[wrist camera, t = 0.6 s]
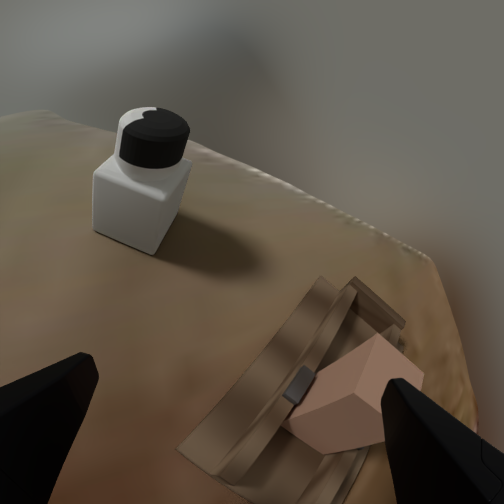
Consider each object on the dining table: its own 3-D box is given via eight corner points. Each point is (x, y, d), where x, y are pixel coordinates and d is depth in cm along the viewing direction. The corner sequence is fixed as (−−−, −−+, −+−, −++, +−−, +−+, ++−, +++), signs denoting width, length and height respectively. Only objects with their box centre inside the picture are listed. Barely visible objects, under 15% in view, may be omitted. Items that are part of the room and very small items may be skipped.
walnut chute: (316, 534, 14) (346, 540, 11) (174, 449, 16) (184, 447, 13) (399, 349, 31) (421, 334, 28) (317, 279, 33) (335, 258, 31)
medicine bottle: (178, 213, 32) (209, 117, 23) (153, 257, 26) (180, 147, 18) (123, 191, 30) (140, 94, 22) (91, 230, 25) (96, 119, 17)
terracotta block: (323, 454, 18) (408, 434, 12) (277, 423, 19) (353, 392, 13) (346, 409, 22) (424, 373, 16) (306, 379, 23) (377, 332, 17)
